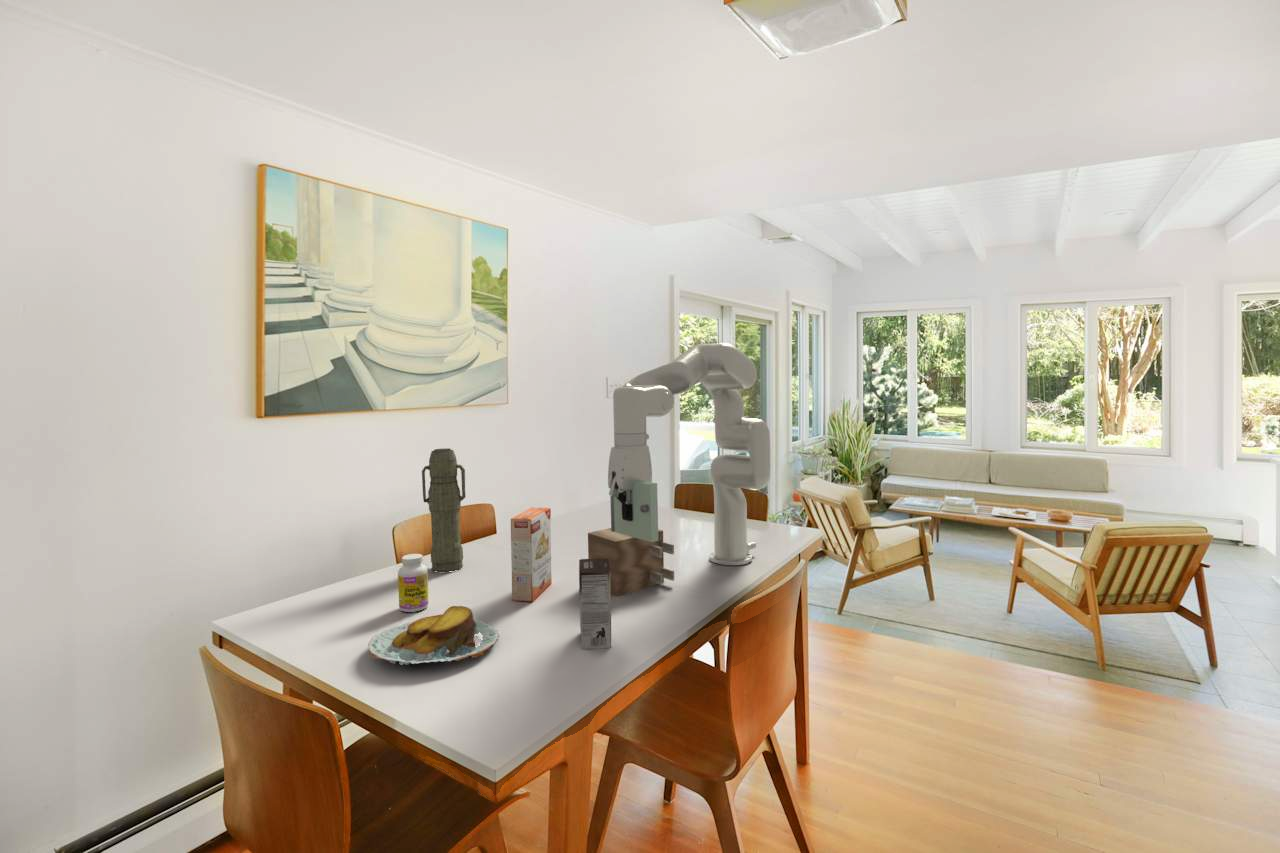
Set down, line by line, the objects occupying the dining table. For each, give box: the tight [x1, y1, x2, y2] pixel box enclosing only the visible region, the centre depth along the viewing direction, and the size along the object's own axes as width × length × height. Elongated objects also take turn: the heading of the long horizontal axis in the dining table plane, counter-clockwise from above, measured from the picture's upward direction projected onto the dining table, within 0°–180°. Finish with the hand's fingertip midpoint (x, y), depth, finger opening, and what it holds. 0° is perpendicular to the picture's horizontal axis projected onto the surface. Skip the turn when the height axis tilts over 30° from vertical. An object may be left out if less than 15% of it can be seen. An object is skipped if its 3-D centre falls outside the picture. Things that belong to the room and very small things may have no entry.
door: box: [609, 481, 659, 542], centre depth 142 cm, size 3×15×13 cm, turn 40°
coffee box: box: [578, 558, 612, 650], centre depth 128 cm, size 9×6×16 cm
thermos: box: [421, 448, 466, 573], centre depth 178 cm, size 9×12×35 cm
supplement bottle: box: [397, 553, 429, 613], centre depth 147 cm, size 7×7×13 cm
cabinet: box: [587, 527, 675, 597], centre depth 161 cm, size 16×16×14 cm
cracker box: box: [510, 507, 552, 603], centre depth 157 cm, size 14×6×21 cm, turn 168°
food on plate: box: [367, 605, 500, 666], centre depth 126 cm, size 25×25×7 cm
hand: (631, 518), depth 142 cm, fingers closed on door, 2 cm apart
